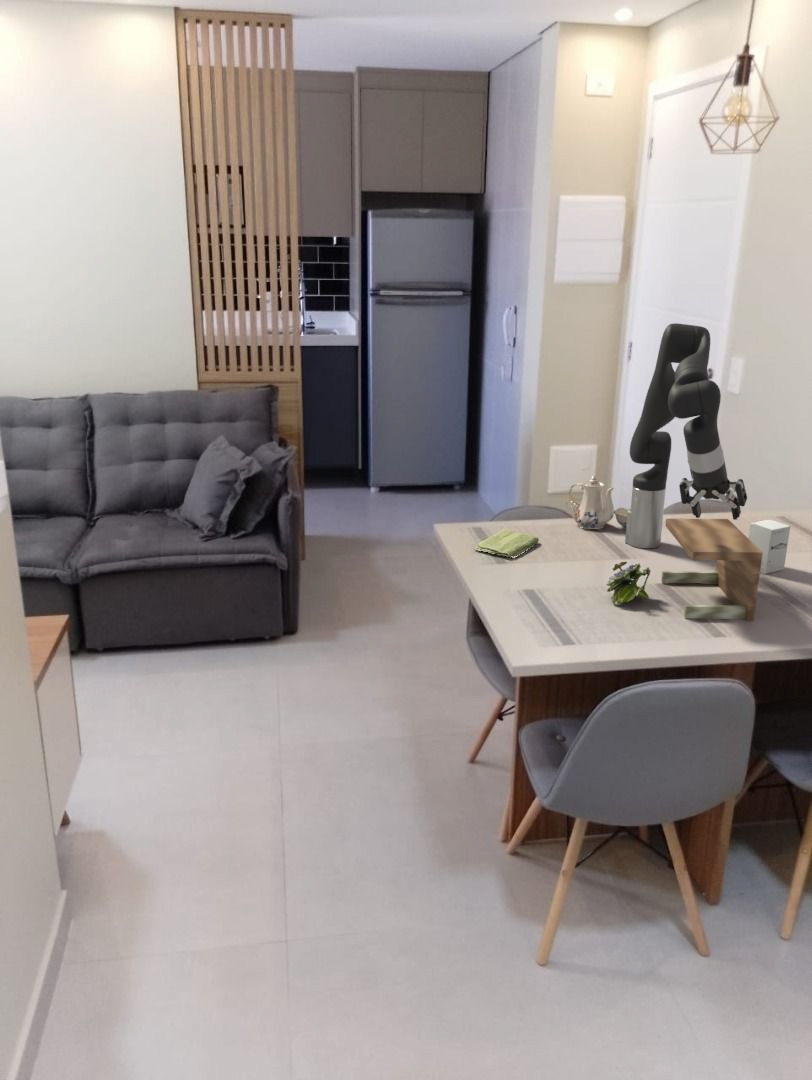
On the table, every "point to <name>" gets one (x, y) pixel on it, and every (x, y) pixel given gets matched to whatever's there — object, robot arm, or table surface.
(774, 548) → the supplement box
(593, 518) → the chinaware
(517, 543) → the washcloth
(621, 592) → the passion flower
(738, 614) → the shelf
